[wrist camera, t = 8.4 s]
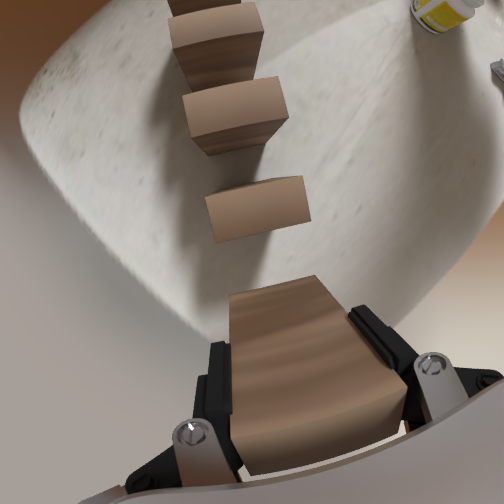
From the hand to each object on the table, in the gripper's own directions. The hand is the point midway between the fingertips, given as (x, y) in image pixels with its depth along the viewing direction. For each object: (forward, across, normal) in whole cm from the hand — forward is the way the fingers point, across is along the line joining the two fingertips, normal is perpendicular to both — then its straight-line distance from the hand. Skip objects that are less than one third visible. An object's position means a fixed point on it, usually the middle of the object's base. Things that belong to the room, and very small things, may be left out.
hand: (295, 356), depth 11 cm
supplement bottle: (+15, -27, -25) cm, 40 cm away
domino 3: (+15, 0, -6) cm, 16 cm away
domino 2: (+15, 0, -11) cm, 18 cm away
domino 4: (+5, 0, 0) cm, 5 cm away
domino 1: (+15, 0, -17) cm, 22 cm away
